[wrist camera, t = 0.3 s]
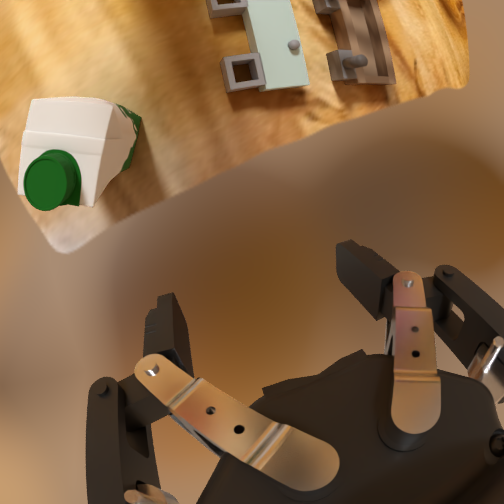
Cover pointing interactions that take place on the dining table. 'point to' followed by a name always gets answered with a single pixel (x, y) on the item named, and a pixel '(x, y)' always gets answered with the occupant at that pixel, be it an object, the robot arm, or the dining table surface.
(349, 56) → the carcass
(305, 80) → the door
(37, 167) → the milk carton
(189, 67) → the dining table surface
